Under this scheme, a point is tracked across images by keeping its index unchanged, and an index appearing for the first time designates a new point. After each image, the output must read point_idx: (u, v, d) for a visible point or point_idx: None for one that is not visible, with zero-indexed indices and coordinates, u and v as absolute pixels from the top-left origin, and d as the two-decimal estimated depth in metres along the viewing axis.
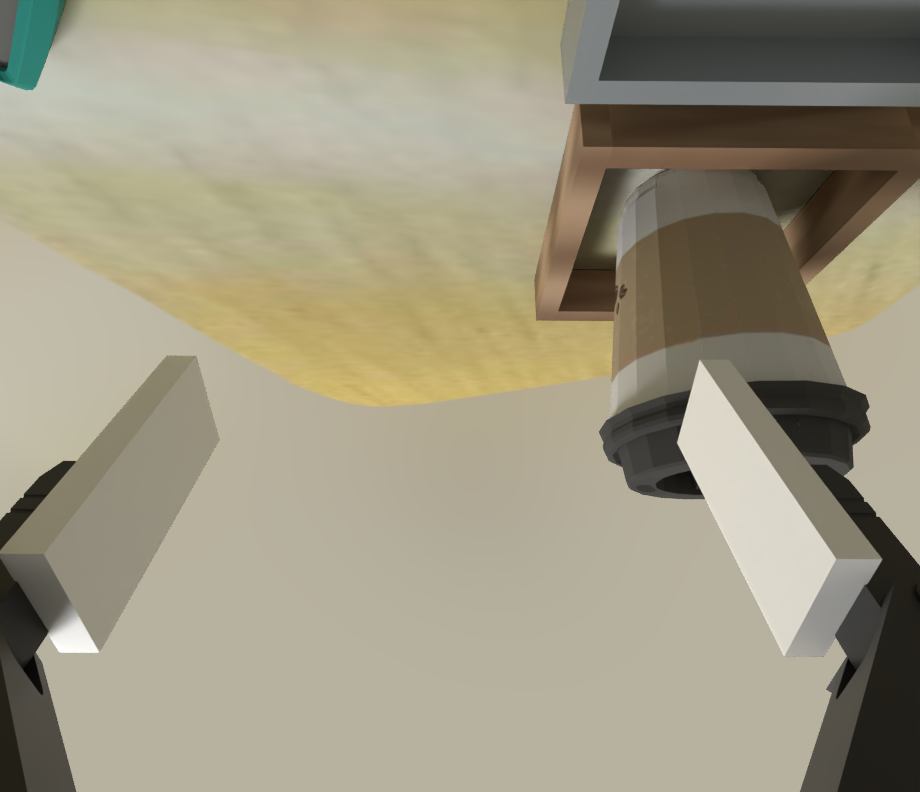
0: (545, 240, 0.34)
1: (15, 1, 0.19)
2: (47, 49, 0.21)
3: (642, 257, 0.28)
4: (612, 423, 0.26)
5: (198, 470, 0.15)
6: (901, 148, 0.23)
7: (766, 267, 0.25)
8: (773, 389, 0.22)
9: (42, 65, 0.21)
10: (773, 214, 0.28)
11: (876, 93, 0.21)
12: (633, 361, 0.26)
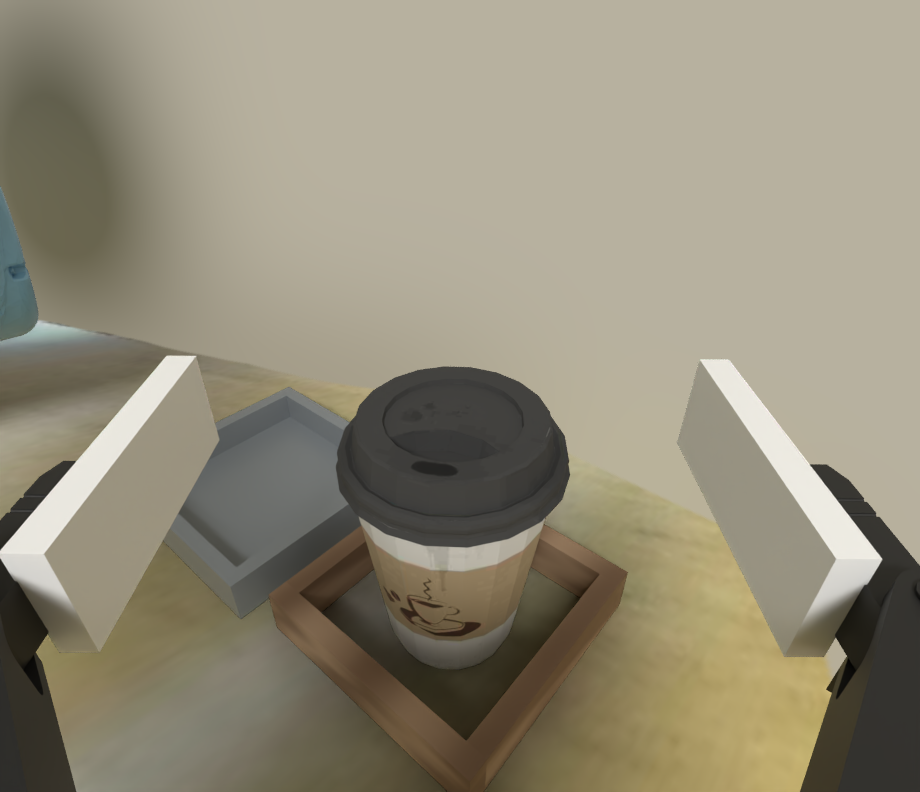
0: (393, 734, 0.29)
1: None
2: None
3: None
4: (357, 507, 0.26)
5: (198, 470, 0.15)
6: None
7: None
8: None
9: None
10: None
11: None
12: (362, 525, 0.28)
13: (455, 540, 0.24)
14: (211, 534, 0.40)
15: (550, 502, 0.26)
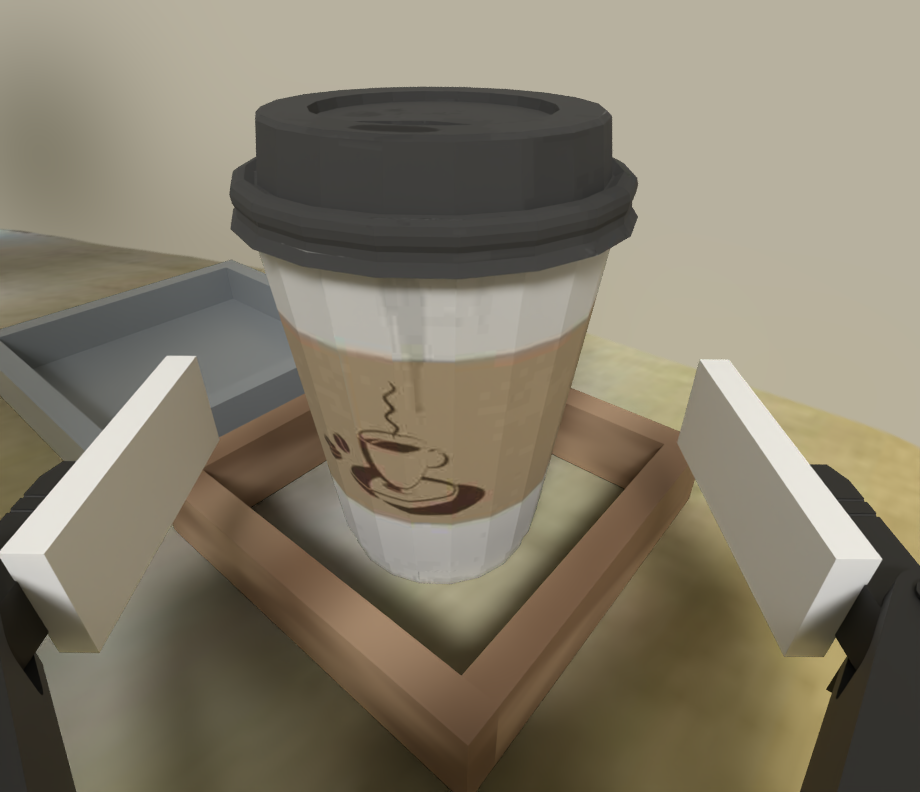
0: (338, 677, 0.17)
1: None
2: None
3: None
4: (254, 236, 0.14)
5: (198, 470, 0.15)
6: None
7: None
8: None
9: None
10: None
11: None
12: (280, 312, 0.16)
13: (435, 266, 0.12)
14: (99, 416, 0.28)
15: (611, 231, 0.14)
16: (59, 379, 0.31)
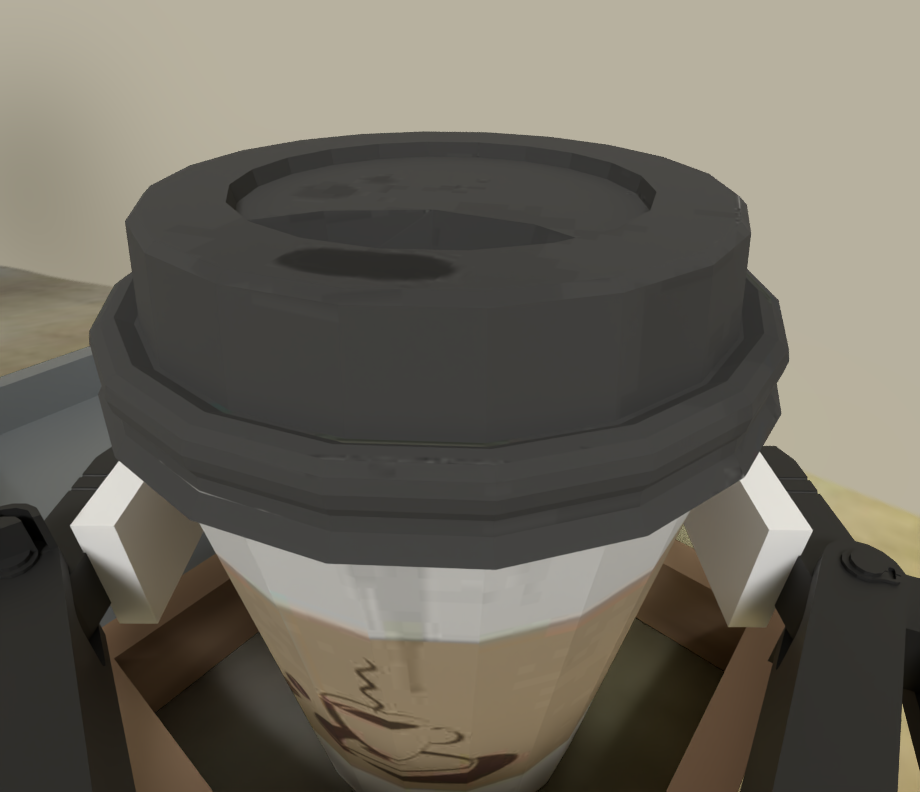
0: None
1: None
2: None
3: None
4: (120, 432, 0.08)
5: None
6: None
7: None
8: None
9: None
10: None
11: None
12: None
13: (447, 542, 0.06)
14: None
15: (758, 417, 0.08)
16: None
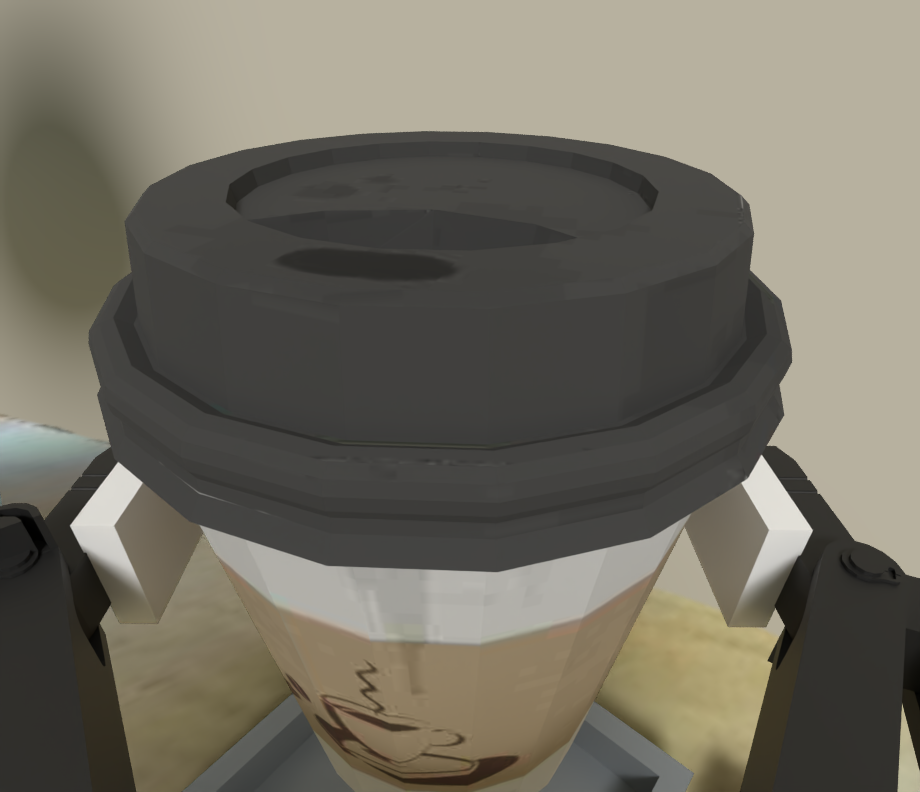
0: None
1: None
2: None
3: None
4: (120, 433, 0.08)
5: None
6: None
7: None
8: None
9: None
10: None
11: None
12: None
13: (448, 545, 0.06)
14: None
15: (760, 418, 0.08)
16: None
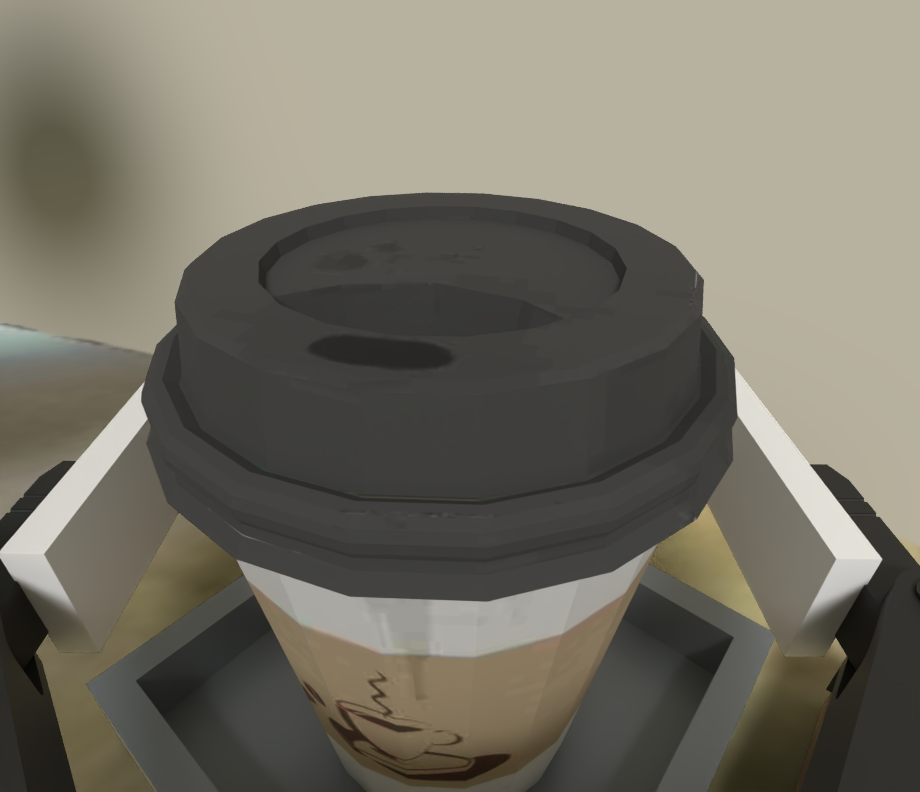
0: None
1: None
2: None
3: None
4: (171, 481, 0.09)
5: None
6: None
7: None
8: None
9: None
10: None
11: (714, 714, 0.17)
12: None
13: (447, 579, 0.08)
14: None
15: (710, 465, 0.09)
16: (235, 736, 0.18)
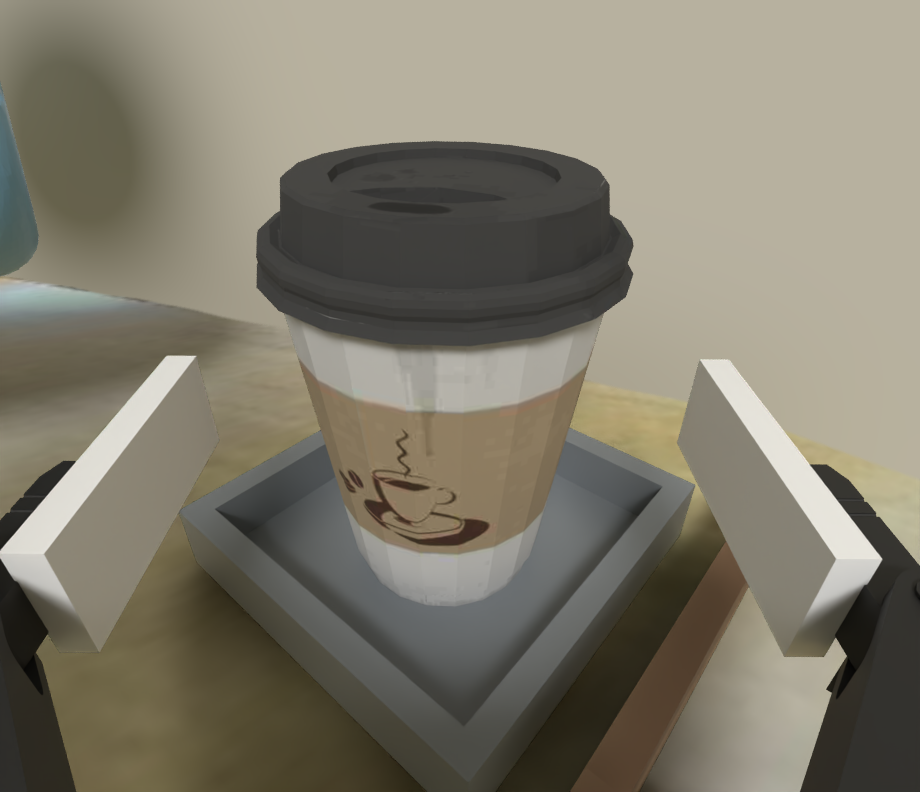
0: None
1: None
2: None
3: None
4: (280, 298, 0.15)
5: (198, 470, 0.15)
6: None
7: None
8: None
9: None
10: None
11: (641, 529, 0.22)
12: (300, 359, 0.18)
13: (447, 334, 0.13)
14: (365, 627, 0.21)
15: (608, 294, 0.15)
16: (286, 556, 0.24)
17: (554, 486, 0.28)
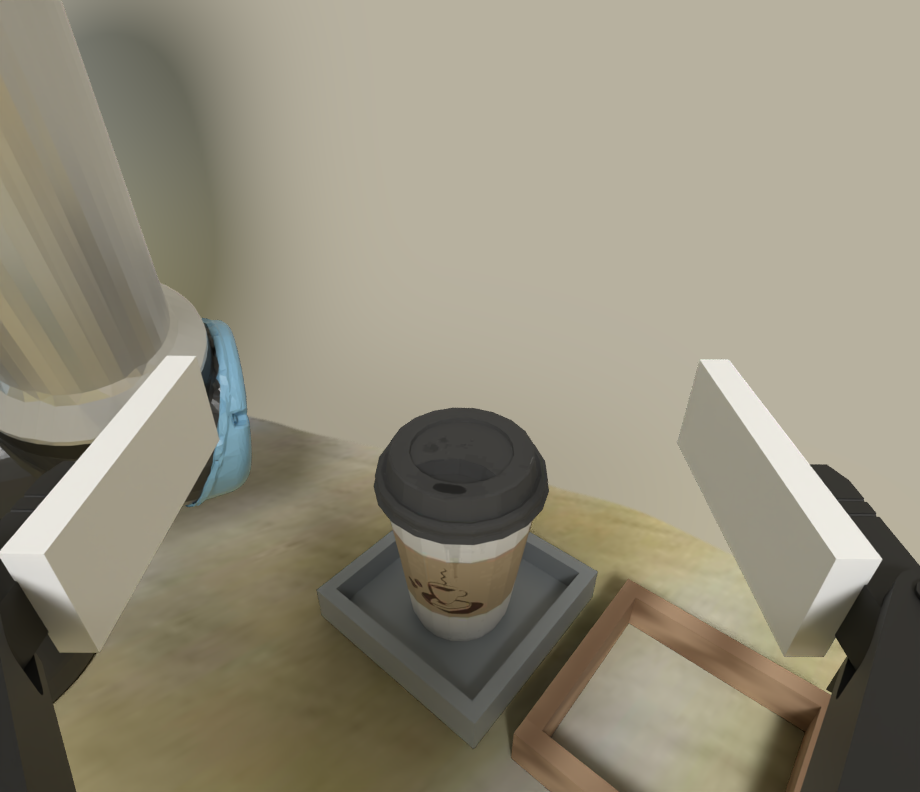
0: None
1: None
2: None
3: None
4: (392, 516, 0.35)
5: (198, 470, 0.15)
6: None
7: None
8: None
9: None
10: None
11: (564, 599, 0.42)
12: (394, 530, 0.38)
13: (465, 540, 0.33)
14: (420, 653, 0.41)
15: (533, 511, 0.35)
16: (373, 613, 0.44)
17: (521, 567, 0.48)
